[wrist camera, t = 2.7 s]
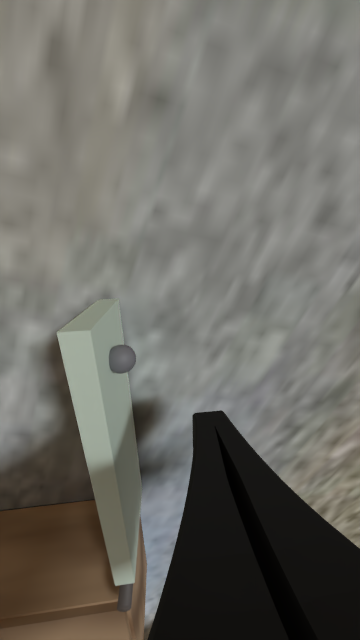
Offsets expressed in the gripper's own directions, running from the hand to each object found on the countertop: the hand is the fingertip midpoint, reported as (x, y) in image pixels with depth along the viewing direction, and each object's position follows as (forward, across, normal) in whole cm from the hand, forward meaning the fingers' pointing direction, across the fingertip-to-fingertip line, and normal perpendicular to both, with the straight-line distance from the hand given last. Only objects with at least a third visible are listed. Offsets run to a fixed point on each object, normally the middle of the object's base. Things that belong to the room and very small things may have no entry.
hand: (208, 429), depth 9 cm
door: (+4, +4, +2) cm, 6 cm away
